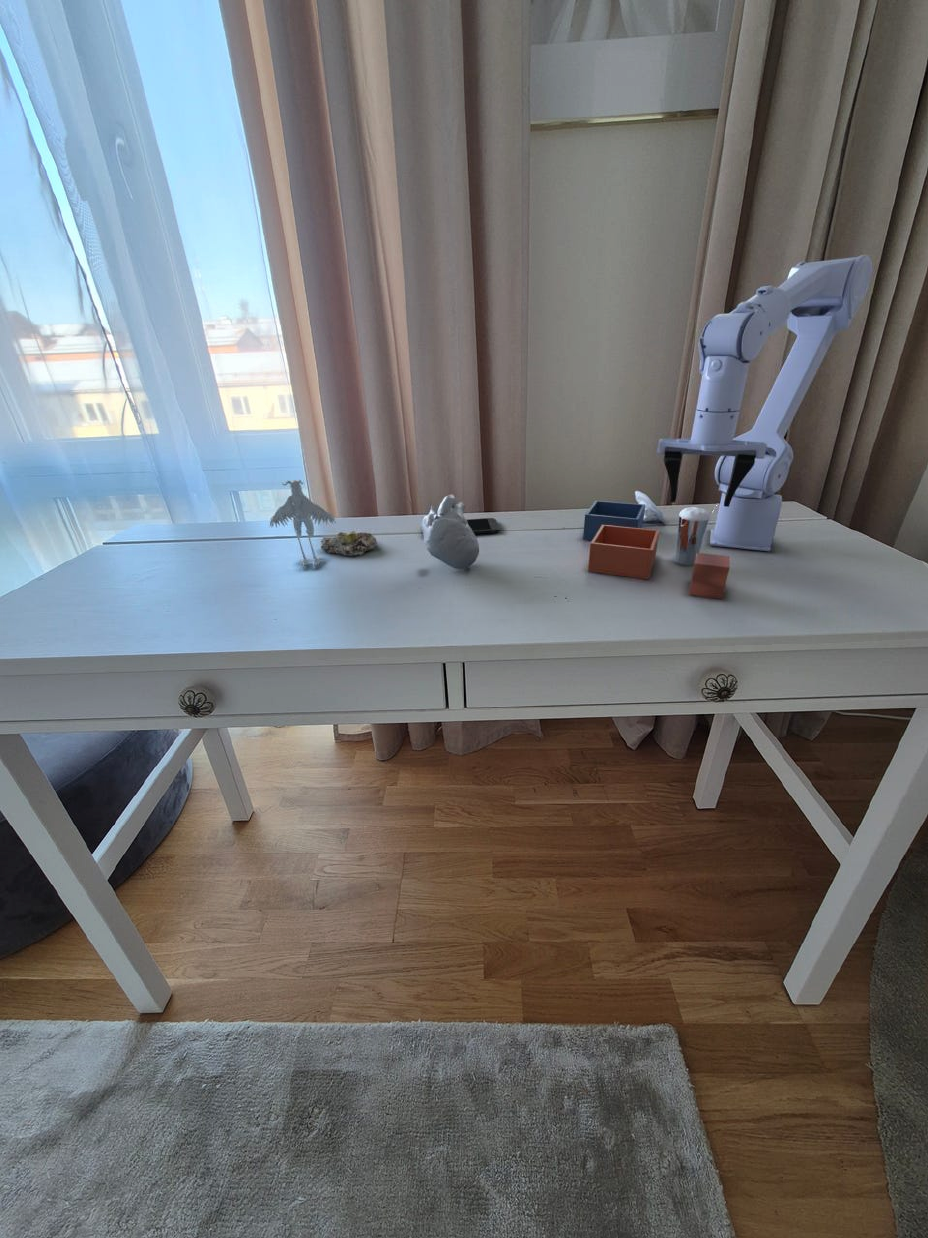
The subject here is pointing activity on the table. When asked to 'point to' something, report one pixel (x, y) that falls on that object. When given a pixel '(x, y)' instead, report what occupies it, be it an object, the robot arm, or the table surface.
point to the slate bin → (612, 516)
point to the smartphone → (483, 525)
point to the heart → (450, 534)
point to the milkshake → (691, 533)
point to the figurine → (301, 515)
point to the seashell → (649, 507)
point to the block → (709, 575)
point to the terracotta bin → (623, 551)
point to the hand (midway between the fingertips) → (699, 502)
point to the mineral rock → (349, 543)
